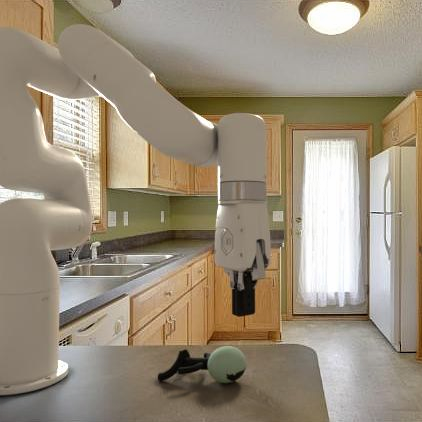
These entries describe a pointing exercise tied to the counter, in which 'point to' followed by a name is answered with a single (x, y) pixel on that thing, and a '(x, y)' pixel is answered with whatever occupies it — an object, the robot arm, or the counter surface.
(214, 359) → the toy
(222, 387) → the counter surface
